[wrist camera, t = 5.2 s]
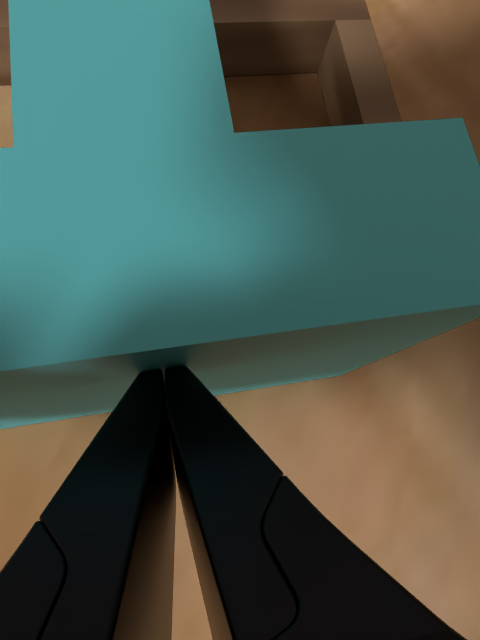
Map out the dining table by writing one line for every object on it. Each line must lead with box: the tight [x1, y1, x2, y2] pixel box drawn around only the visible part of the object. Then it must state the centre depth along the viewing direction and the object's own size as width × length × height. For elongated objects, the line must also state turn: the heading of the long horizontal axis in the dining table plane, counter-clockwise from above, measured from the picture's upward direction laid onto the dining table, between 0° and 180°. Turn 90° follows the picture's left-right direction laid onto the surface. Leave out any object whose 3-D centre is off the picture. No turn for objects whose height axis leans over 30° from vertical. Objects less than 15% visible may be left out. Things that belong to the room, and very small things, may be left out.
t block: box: [0, 0, 480, 429], centre depth 12 cm, size 10×12×9 cm
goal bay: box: [0, 0, 401, 126], centre depth 16 cm, size 11×19×2 cm, turn 99°
